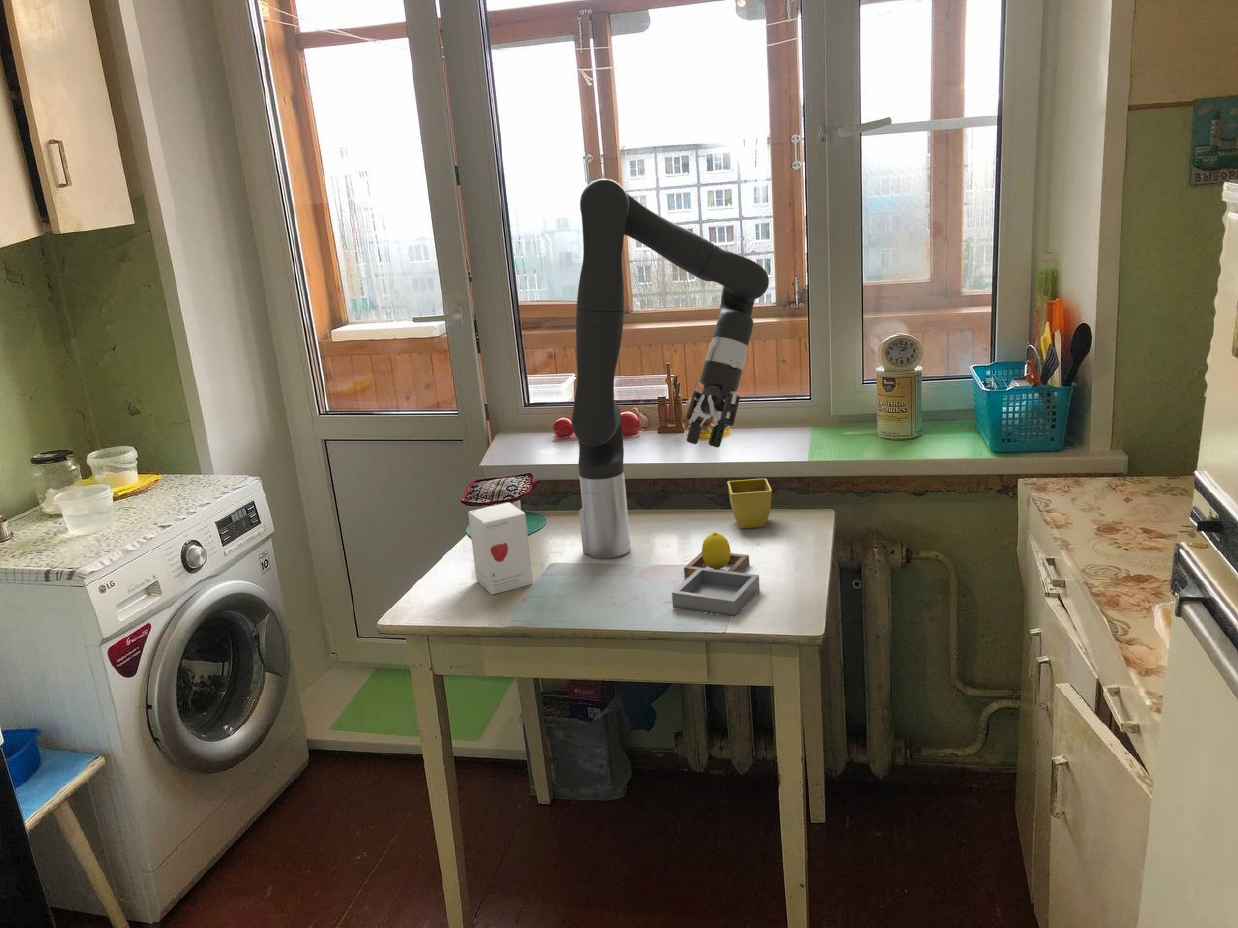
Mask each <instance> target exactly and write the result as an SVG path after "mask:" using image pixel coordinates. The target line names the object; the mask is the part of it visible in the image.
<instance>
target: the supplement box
mask: <svg viewBox="0 0 1238 928" xmlns="http://www.w3.org/2000/svg"><path fill="white" fill-rule="evenodd" d="M467 514H468V523H469V531H470V537H471V538H470V539H471V546H472V554H473V563H474V569H475V579H476V582H478V583H479V585H481V586H482V587H483V588H484V589H485V590H486V591H487V592H488V593H489V594H490V595H491V596H492V595H495V594H499V593H503V592H507V591H511V590H515V589H518V588H522V587H527V586H530V585H533V584H534V580H533V572H532V571H533V570H532V562H531V554H530V553H531V552H530V544H529V543H530V542H529V536H528V535H529V534H528V533H529V532H528V524H527V517H526V513H525V512H524V511H523V510H521V509H520V508H518V506H517V507H516V505H514V504H512V503H511V502H504V503H499V504H496V505H491V506H486V507H482V508H479V509H474V510H470V511H468V512H467Z"/></svg>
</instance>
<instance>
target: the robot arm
mask: <svg viewBox="0 0 1238 928" xmlns="http://www.w3.org/2000/svg"><path fill="white" fill-rule="evenodd" d="M579 209H580V215H581V225H582V227H581V228H582V245H583V247H582V248H583V249H582V250H583V252H582V254H583V257H582V262H581V263H582V264H581V270H580V276H579V281H578V288H577V295H576V296H577V298H576V313H575V314H576V315H575V317H576V318H575V341H576V342H575V344H576V345H575V346H576V348H575V349H576V367H577V370H576V371H577V373H576V376H577V377H576V388H575V396H574V397H575V398H574V403H573V409H572V415H571V428H572V431H573V433H574V434H573V435H575V437H576V438H577V439H578V447H579V448H578V450H579V451H578V452H579V454H578V466H577V467H578V475H579V483H580V485H579V486H580V493H581V494H580V496H581V504H582V505H581V507H582V508H580V509H579V511H578V515H579V516H578V517H579V525H580V535H581V537H580V538H581V545H582V553H583V554H586V555H588V556H590V557H592V558H595V559H613V558H618V557H621V556H625V555H626V554H627V553H629V552H630V551H631V538H630V528H629V527H630V526H629V515H628V513H629V512H628V503H627V492H626V491H627V490H626V489H627V488H626V482H625V481H626V479H625V469H624V468H625V467H624V458H625V457H624V455H625V454H624V452H625V451H624V436H623V435H624V434H623V422H622V415H621V414H622V413H621V410H620V407H619V405H618V403H617V401H616V400H615V376H616V368H617V364H618V360H619V355H620V349H621V345H622V338H623V332H624V331H623V330H624V312H625V311H624V310H625V292H624V291H625V290H624V288H625V287H624V285H625V284H624V272H623V247H624V239H625V236H627V237H629V238H631V239H633V240H635V241H637V242H639V243H640V244H643V245H644V246H646V247H648V249H651V250H652V251H654V252H655V253H657V254H659V256H661V257H663V258H664V259H666V260H667V261H668V262H670V263H672V265H675V266H677V267H678V268H679V269H682V270H683V271H685V272H687V273H689V274H691V275H692V276H694V277H696V278H698V279H700V280H703V281H705V282H712V283H713V282H714V283H717V284H719V285H721V286H723V287H722V291H721V296H720V306H719V315H718V318H717V322H716V325H715V329H714V333H713V336H712V339H711V341H710V344H709V347H708V349H707V353H706V356H705V360H704V364H703V368H702V371H701V375H700V380H699V383H700V384H701V385H703V390H702V392H700V391H697V390H694V391H693V393H692V396H691V398H690V402H689V406H688V409H687V413H686V415H685V419H686V420H687V421H689V423H690V425H689V429H688V433H687V437H686V442H687V443H689V444H692V445H697V444H698V443H699V439H700V435H701V431H702V426H703V424H704V423H705V421H706V420H708V419H710V418H711V417H712V418H713V419H712V420H713V424H714V425H712V427H711V433H710V436H709V439H708V446H711V447H713V448H720V447H721V443H722V440H723V437H724V433H725V430H726V429H727V428H729V427H733V426H734V425H735V420H736V417H737V412H738V407H739V403H740V399H741V397H740V395H737V394H735V393H736V392H737V391H738V388H739V385H740V382H741V377H742V374H743V371H744V367H745V365H746V364H745V363H746V360H747V352H748V346H749V344H750V341H751V337H752V334H753V333H752V332H753V329H754V321H753V318H752V313H753V309H754V304H755V301H756V299H759V298H762V296H763V295H764V294H765V293H766V292H767V290H768V288H769V286H770V285H769V284H770V279H769V276H768V272H767V271H766V270H765V268H763V266H762V265H760V264H759V263H757V262H755V261H753V260H752V259H749V258H748V257H744V256H743V255H740V254H736V253H734V252H731V251H728V250H725V249H722V248H721V247H720V246H717V244H715V243H713V242H711V241H709V240H708V239H706V238H704V237H702V236H700V235H698V234H697V233H695V232H693V231H691V230H689V229H687V228H685V227H683V226H680V225H679V224H676V223H675V222H672V221H671V220H669V219H666V218H664V217H663V216H660V215H659V214H657V213H655V212H654V211H652V210H651V209H649V208H647V207H646V206H644V205H643V204H642V203H640V202H639V201H638V200H637V199H635V198H634V197H633V196H631V195H630V194H629V193H628V192H627V191H626V190H625V188H624V187H623V186H622V185H621V184H620V183H619V182H618V181H616V180H613V179H610V178H599V179H596V180H595V179H594V180H593V181H592V182H590V183H589V184H588V185H586V187H585V188H584V189H583V191H582V193H581V196H580V200H579Z"/></svg>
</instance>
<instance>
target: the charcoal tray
mask: <svg viewBox="0 0 1238 928" xmlns="http://www.w3.org/2000/svg"><path fill="white" fill-rule="evenodd" d="M707 568H708V567H707ZM707 568H706V567H701V568H698V569H697V570H696V571H695V572H694V573H693V574H692V575H690V576H689V577H688V578H686V579H685V580H684V581H683V582H681V584H679V585H678V587H676V588H675V589H674V590H673V591H672V592H671V597H672V608H673V609H677V610H678V609H679V610H684V611H690V610H692V611H691V612H697V611H699V612H698V613H704V612H707V613H706V614H710V613H712V615H717V614H718V615H717V616H724V617H732V618H736V617H737V616H738V615H739V614H740V612H742V611H743V609H744V608H745V607H746V606H747V605H748V604H749V603H750V601H751V600H752V599H753V598H754V597H755V596H756V595H757V593H758V592H760V575H759V574H753V573H745V572H741V573H739V572H731V571H728V570H724V571H723V570H722V569H720V570H715V569H712V568H708V569H707Z"/></svg>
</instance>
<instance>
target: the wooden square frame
mask: <svg viewBox="0 0 1238 928" xmlns="http://www.w3.org/2000/svg"><path fill="white" fill-rule="evenodd" d="M704 565H706V564H705V562H704V560H703V557H702V551H701V552H700V553H699V554H698V555H697V556H695V557H694V558H693V559H692V560H691V561H690V562H688V564H687V565H685V566H684V567H683V574H684V578H686V579H687V578H688V577H689V576H690V575H692V574H693V573H694V572H695V571H696V570H697V569H698V568H703V566H704ZM727 565H731V567H729V569H728V570H727V571H731V572H739V573H743V572H744V571H745V569H747V567H749V565H750V556H749V554H743V553H735V552H731V554H730V559H729V562H728V564H727ZM707 569H709V567H707ZM715 570H716V569H715ZM723 571H725V570H723Z"/></svg>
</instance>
